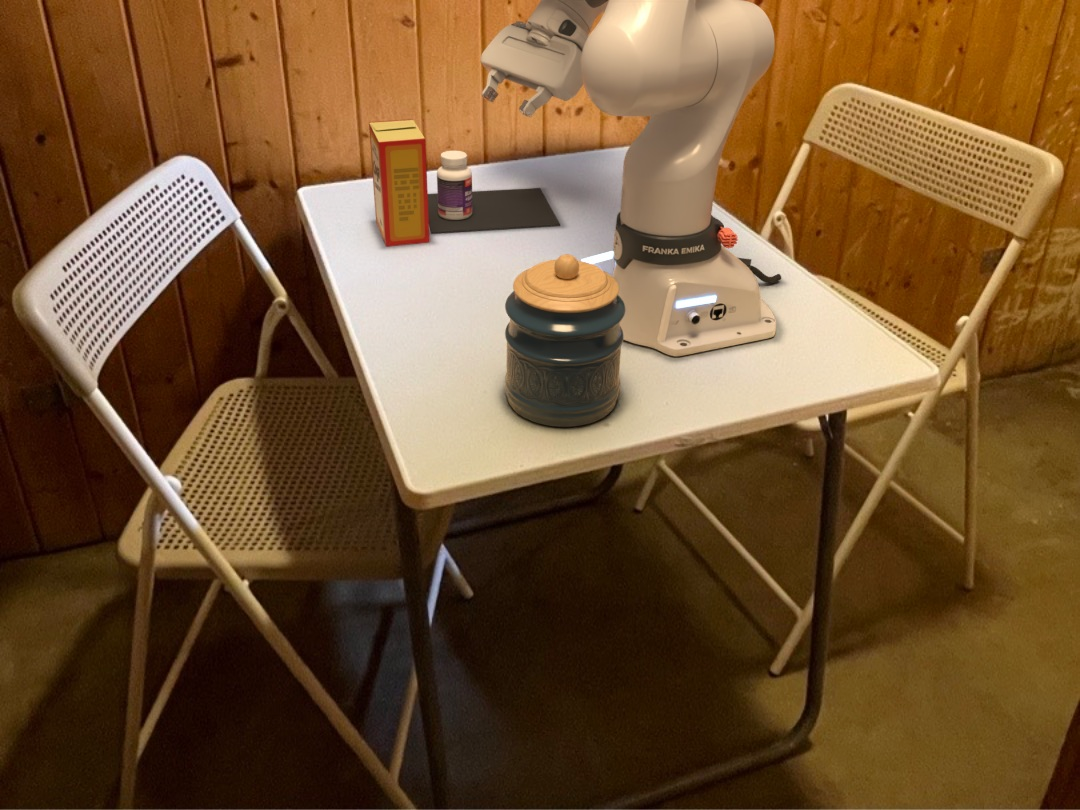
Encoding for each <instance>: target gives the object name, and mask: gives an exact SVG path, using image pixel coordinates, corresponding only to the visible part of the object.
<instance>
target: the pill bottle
mask: <svg viewBox="0 0 1080 810" xmlns="http://www.w3.org/2000/svg"><path fill="white" fill-rule="evenodd" d="M440 164H441V166H439V167H438V168H437V170H436V185H437V186H436V187H437V188H436V189H437V191H436V192H437V194H438V214H439V216H440V217H442V218H443V219H447V220H463V219H467V218H469V217H470V216H471V215H472V192H473V173H472V170H471V168H470V167H469V166H468V153H467V152H464V151H462V150H446V151H443V152H441V154H440Z"/></svg>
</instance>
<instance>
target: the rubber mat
mask: <svg viewBox="0 0 1080 810" xmlns="http://www.w3.org/2000/svg"><path fill="white" fill-rule="evenodd" d="M428 215H429V231H430V233H431V235H435V234H450V233H451V234H452V233H453V234H454V233H467V232H469V233H470V232H482V231H483V232H485V231H486V232H487V231H499V230H516V229H529V228H530V229H533V228H549V227H550V228H551V227H560V226H561V222H560V221H559V219H558V218H557V216H556V214H555V212H554V210H553V208H552V207H551V205H550V203H549V201H548V199H547V197H546V196H545V194H544V192H543V190H542V189H541V187H533V188H532V187H531V188H530V187H529V188H514V189H512V188H511V189H497V190H496V189H494V190H493V189H492V190H479V191H478V190H477V191H476V190H475V191H472V215H471V216H470V217H469V218H467V219H463V220H447V219H443V218H442V217H440V216H439V214H438V193H428Z"/></svg>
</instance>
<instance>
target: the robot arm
mask: <svg viewBox="0 0 1080 810" xmlns="http://www.w3.org/2000/svg"><path fill="white" fill-rule="evenodd" d="M601 14H602V16H601V18H600V19H599V21H598V22H597V24H596V26H595V27H594V28H593V25H594V22H595V21H596V19H597V18H598V17H599V16H600V15H601ZM592 28H593V30H592ZM591 30H592V31H591ZM775 39H776V38H775V32H774V28H773V25H772V21H770V19H769V17H768V15H767V14H766V12H765V11H764V10H763V9H762V8H761V7H760V6H759V5H757V4H755V3H754V2H751V1H747V0H540V1H539V3H538V4H537V6H536V7H535V9H534V10H533V12H532V13H531V15H530V16H529V17H528V19H527V21H526V23H525V22H523V21H521V20H516V22H514V23H510V24H508V25H507V26H505V27H503V28H502V29H501V30H500V31H499V32H498V33H497V34H496V35H495V36H494V38H493V39H492V40H491V41H490V43H488V45H487V47H486V48H484V50H483V52H482V54H481V55H480V64H481V65H482V66H483V68H485V70H486V71H488V74H487V79H486V86H485V87H484V88H483V90H482V91H481V97H482V98H483V99H484V100H485V101H487V102H489V103H494V102H495V100H496V99H497V97H498V96H499V92H498V87H499V84H500V85H501V84H502V83H503V82H504V80H507V81H509V82H511V83H515V84H517V85H521V86H524V87H526V88H529V89H532V90H534V91H535V94H534V95H533V96H531V97H530V98H529V99H528V100H526V99H524V100H523V101H522V103H521V105H520V106H519V107H518V111H519V112H520V113H521V114H522V115H523V116H526V117H527V118H532V117H533V115H534V114H535V112H536V111H537V110H538V109H540V108H541V107H543V106H544V105H546V104H547V103H549V102H550V100H551V98H552V97H553V98H556V99H559V100H561V101H562V100H563V101H564V102H568V101H570V100H571V99H573V98H575V96H577V95H578V93H579V91H580V90H581V89H582V87H584V90H585V92H586V94H587V96H588V98H589V99H590V100H591V102H592V104H593V105H594V106H595V107H596V108H597V109H598V110H599V111H601V112H602V113H604V114H606V115H609V116H614V117H628V118H629V117H630V118H635V117H636V118H637V117H639V118H642V117H643V118H644V117H649V119H648V121H647V123H646V125H645V127H644V128H643V129H642V131H641V132H640V133H639V135H638V136H636V138H635V139H634V140H633V141H632V142H631V144H630V145H629V146H628V149H627V151H626V152H625V155H624V158H623V166H622V168H623V169H622V181H621V182H622V183H621V196H620V211H619V212H618V213H617V215H616V219H615V229H614V232H613V248H612V249H613V250H611V251H607V252H603V253H600V254H596V255H591V256H588V257H585V258H581V260H580V261H584V262H587V263H590V264H593V265H595V264H596V263H597V264H598V263H601V262H604V261H608V260H612V259H614V265H613V266H614V267H613V271H612V275H611V276H612V277H613V278H614V279H615V280H616V281H617V283H618V285H619V293H618V295H619V296H620V297H621V299H622V300H623V302H624V304H625V308H626V310H625V315H624V317H623V319H622V320H621V321H620V326H621V328H622V330H623V335H624V338H623V341H626V342H629V343H632V344H634V345H639V346H644V347H647V348H652V349H655V350H657V351H659V352H661V353H663V354H665V355H668V356H671V357H683V356H687V355H692V354H698V353H702V352H708V351H713V350H718V349H722V348H726V347H727V348H729V347H732V346H737V345H742V344H747V343H752V342H757V341H762V340H766V339H771V338H774V337H775V334H776V332H777V320H776V317H775V315H774V313H773V311H772V309H771V308H770V307H769V305H768V304H767V303H766V302H765V301H764V300H763V299H762V297H761V296H762V295H761V289H760V285H759V282H758V280H757V279H759V280H760V281H762V282H763V283H766V284H775V283H777V282H779V281H781V280H782V275H781V274H780V273H777V274H774V275H773V276H768V275H766V274H765V273H764V272H763V271H761V270H760V269H759V268H757V267H756V266H754V265H752V258H744V257H737V256H736V255H734V254H733V253H732V252H731V251H730V250H729V249H731V248H734V247H735V245H737V243H738V240H739V239H738V235H737V234H736V233H735V232H734V231H733V229H732V228H730V227H725V225H724V223H723V222H722V221H721V220H720V219H718V218H717V217H715V216H713V214H712V213H713V205H714V197H715V192H716V191H715V190H716V183H717V179H718V177H717V176H718V170H719V167H720V162H721V158H722V154H723V151H724V148H725V146H726V143H727V141H728V137H729V135H730V132H731V130H732V128H733V125H734V123H735V121H736V119H737V117H738V114H739V112H740V110H741V108H742V106H743V104H744V102H745V100H746V99H747V97H748V96H749V94H750V92H751V90H752V89H753V88H754V87H755V85H757V83H758V81H760V79H762V77H763V76H764V75H765V74H766V73H767V71H768V69H769V68H770V66H771V64H772V61H773V59H774V55H775V49H776V48H775V46H776V45H775V44H776V41H775Z"/></svg>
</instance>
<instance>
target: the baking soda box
mask: <svg viewBox="0 0 1080 810" xmlns="http://www.w3.org/2000/svg"><path fill="white" fill-rule="evenodd" d="M368 125H369V126H368V127H369V128H368V129H369V143H370V155H371V156H370V157H371V170H372V171H371V172H372V173H371V174H372V183H373V184H372V185H373V198H374V199H373V201H374V213H375V214H374V215H375V223H376V225H377V228H378V230H379V233H380V236H381V238H382V240H383V243H384V245H385V247H397V246H406V245H415V244H416V245H417V244H426V243H430V242H431V241H430V240H431V239H430V226H429V215H428V194H429V192H428V170H427V168H428V167H427V146H426V145H427V143H426V142H427V141H426V138H425V136H424V134H423V133H422V131H421V130H420V128H419V126H418V124H416V121H415V120H414V118H409V119H408V118H407V119H394V120H379V121H369V122H368Z"/></svg>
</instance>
